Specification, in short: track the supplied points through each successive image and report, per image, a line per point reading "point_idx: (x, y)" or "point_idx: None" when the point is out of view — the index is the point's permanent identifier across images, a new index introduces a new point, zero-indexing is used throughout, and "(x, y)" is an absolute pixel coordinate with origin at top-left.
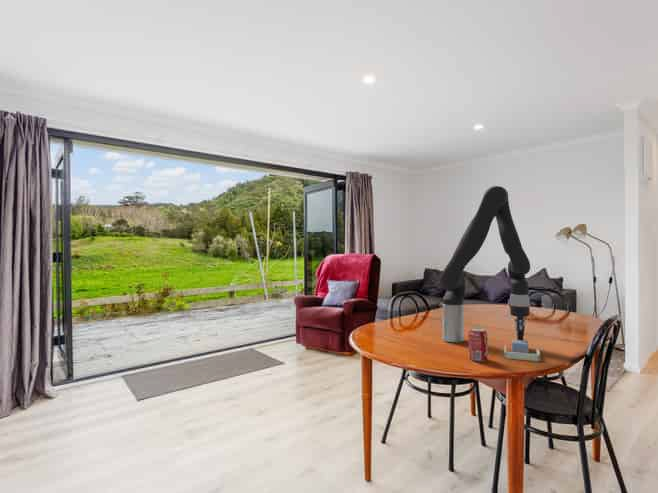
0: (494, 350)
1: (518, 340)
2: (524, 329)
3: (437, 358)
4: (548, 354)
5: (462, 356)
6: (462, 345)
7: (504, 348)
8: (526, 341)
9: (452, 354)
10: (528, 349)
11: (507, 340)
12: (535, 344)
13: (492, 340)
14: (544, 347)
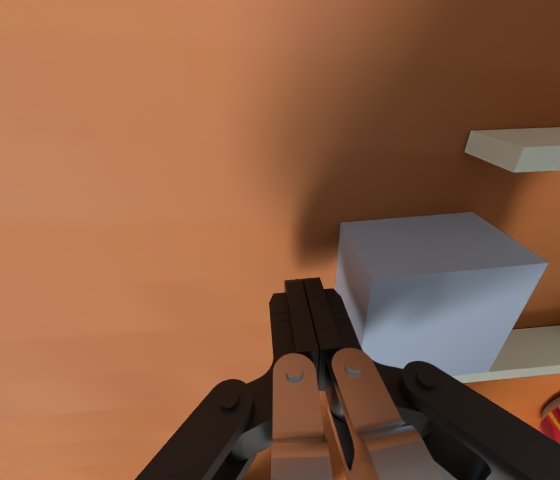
0: None
1: (375, 345)
2: (434, 465)
3: None
4: (492, 4)
5: None
6: (336, 470)
7: (526, 374)
8: (406, 284)
9: None
10: (501, 232)
11: (77, 359)
12: (47, 143)
13: (150, 416)
14: (141, 28)
